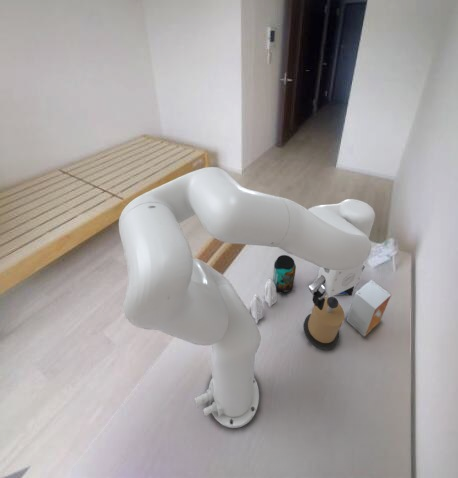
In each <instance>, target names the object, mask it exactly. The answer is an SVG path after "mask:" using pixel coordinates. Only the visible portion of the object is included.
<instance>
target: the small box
mask: <svg viewBox="0 0 458 478" xmlns="http://www.w3.org/2000/svg"><path fill="white" fill-rule="evenodd" d="M391 297H392V294H390V292H388V291H387V290H385V289H384V288H382V287H381V286H380V284H378V283H376V282H375V281H373V280H372V279H370V280H369V281H368V282H366V283H365V284H363V285H362V286H361V287H360V288H359V289H358V290H357V291H355V293H354V295H353V299H352V301H351V303H350V304H351V305H350V308H349V311H348V314H347V317H346V322H348V324H350V325H351V326H352V327H353V328H354V329H355V330H356V331H357V332H358V333H359V334H360V335H362V336H363V337H364V338H365V337H366V336H367V335H368V334H369V333H370V332H372V330H373V329H374V328H375V327H377V325H379V324H380V322H381V321H382V318H383V315H384V313H385V311H386V308H387V306H388V303H389V301H390V299H391Z"/></svg>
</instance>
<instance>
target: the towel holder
mask: <svg viewBox="0 0 458 478" xmlns="http://www.w3.org/2000/svg"><path fill="white" fill-rule="evenodd" d="M324 299H325V302H324V306H323V309H322V310H320V309H319V308H318V307H317V306H315V304H314V303H313V307H312V310H311V313H309V314H308V315H306V316H305V318H304V321H303V333H304V335H305V337H306V339H307V340H308V342H309V343H311V344H312V345H313V346H314V347H316V348H318V349H320V350H325V351H326V350H332V349H334V348H335V347H336V346H337V344H338V343H339V339H340V329H341V326H342V325H343V323H344V320H345V316H346V315H345V311H344V308H343V307H342V305H341V304H340V303H339V301H338V299H337V298H336V297H335V296H325V297H324Z"/></svg>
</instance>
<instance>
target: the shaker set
mask: <svg viewBox="0 0 458 478" xmlns="http://www.w3.org/2000/svg"><path fill="white" fill-rule="evenodd" d="M277 300H278V297H277V291H276V286H275V284H274V282H273V278H268V279H267V280H266V282H265V285H264V301H265V302H266V303H267V306H268V307H269V308H271V307H272V305H274V304H275V303H277ZM250 314H251V315H252V317H253V319H254V320H255V322H256V324H258V322H259V321H260V320H262V319H263V317H264V304H263V301H262V298H261V297H260V296H259V295H258V294H254V295H253V296H252V298H251V300H250Z"/></svg>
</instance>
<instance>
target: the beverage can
mask: <svg viewBox="0 0 458 478" xmlns="http://www.w3.org/2000/svg"><path fill="white" fill-rule="evenodd" d="M296 270H297V266H296V262H295V260H294V259H293V257H291V256H289V255H288V254H287V255H286V254H281V255H279V256H278V257H277V258H276V260H275V261H274V264H273V275H272V280H273V282H274V284H275V286H276V292H278V293H280V294H283V295H284V294H289V293H291V292H292V291H293V289H294V284H295V276H296Z"/></svg>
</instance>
